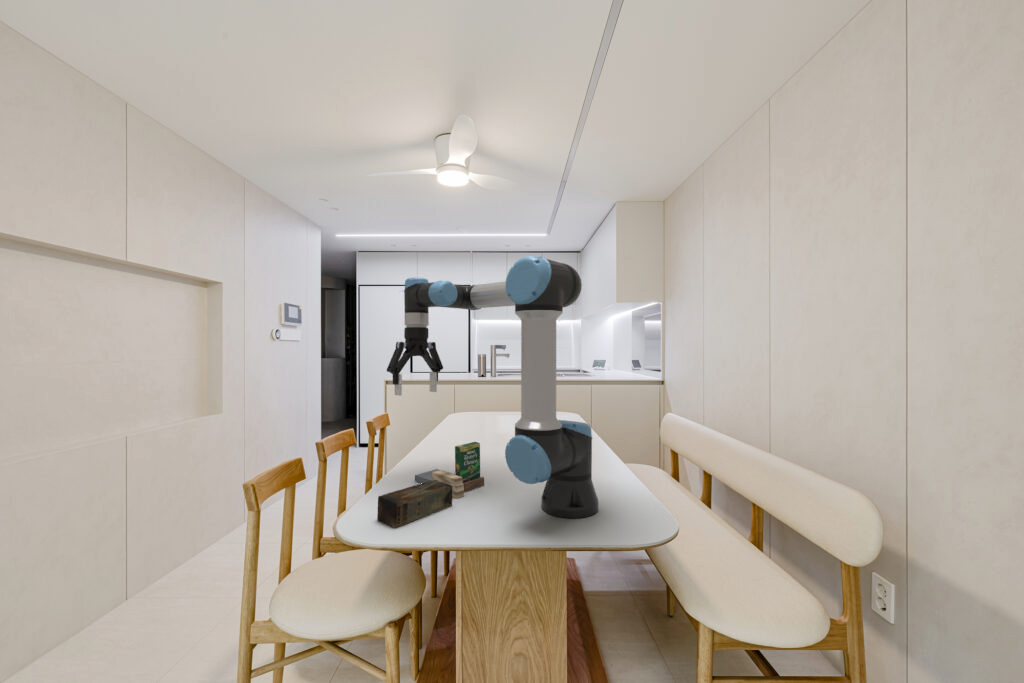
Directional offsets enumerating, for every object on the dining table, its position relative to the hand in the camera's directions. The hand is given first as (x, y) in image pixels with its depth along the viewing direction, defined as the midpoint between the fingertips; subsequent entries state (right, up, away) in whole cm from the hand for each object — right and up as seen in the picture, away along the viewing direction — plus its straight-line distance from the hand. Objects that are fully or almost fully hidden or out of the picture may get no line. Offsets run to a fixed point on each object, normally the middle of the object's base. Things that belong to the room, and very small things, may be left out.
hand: (416, 393), depth 138 cm
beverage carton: (+6, -28, -26) cm, 39 cm away
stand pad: (+6, -28, 0) cm, 29 cm away
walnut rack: (+17, -28, -5) cm, 33 cm away
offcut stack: (+12, -28, -11) cm, 32 cm away
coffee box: (+17, -28, -5) cm, 33 cm away
